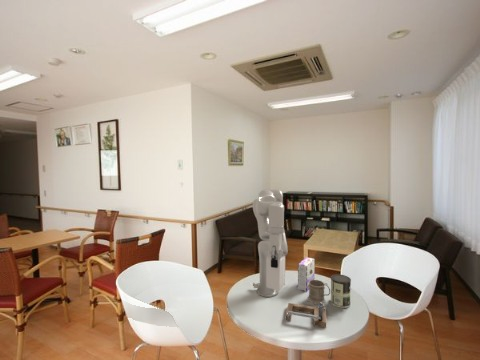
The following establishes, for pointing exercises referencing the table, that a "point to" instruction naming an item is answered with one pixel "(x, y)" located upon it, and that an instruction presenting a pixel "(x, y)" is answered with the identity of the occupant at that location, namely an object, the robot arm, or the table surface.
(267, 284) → the milk carton
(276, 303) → the table surface
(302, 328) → the table surface
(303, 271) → the candy box
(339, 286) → the coffee can
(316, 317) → the rail
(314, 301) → the mug
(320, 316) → the hook post
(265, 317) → the table surface
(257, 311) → the table surface
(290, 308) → the wooden frame
